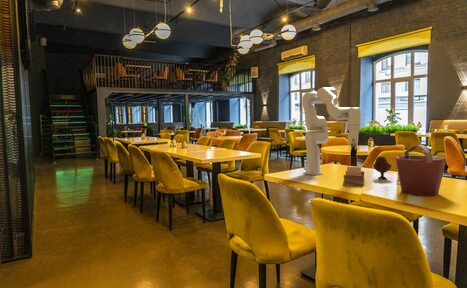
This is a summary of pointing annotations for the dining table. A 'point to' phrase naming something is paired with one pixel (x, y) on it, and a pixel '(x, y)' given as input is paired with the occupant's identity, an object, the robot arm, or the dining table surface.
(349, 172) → the tile
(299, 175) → the dining table surface
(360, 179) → the rack
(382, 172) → the ice cream bowl
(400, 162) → the bucket
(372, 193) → the dining table surface
